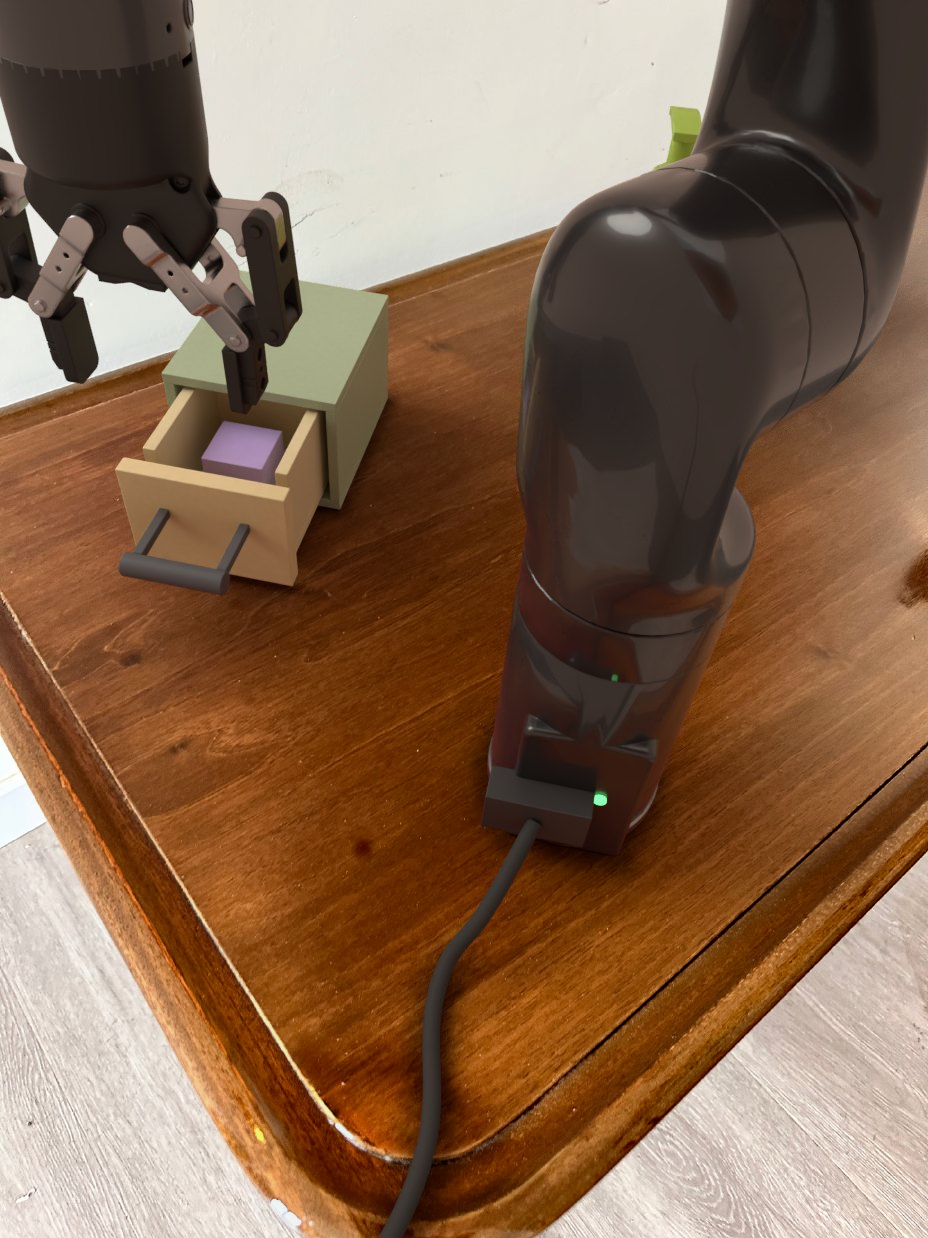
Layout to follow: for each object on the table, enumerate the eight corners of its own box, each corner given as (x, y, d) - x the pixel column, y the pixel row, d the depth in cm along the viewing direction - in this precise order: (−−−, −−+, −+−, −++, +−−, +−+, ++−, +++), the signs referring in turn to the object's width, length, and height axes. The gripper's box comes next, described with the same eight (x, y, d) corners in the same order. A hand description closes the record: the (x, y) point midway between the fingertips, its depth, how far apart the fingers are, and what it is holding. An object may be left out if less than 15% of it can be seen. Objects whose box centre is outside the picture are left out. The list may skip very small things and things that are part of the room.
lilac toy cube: (282, 430, 62) (261, 469, 59) (286, 477, 65) (267, 516, 62) (223, 420, 62) (200, 457, 59) (230, 467, 65) (209, 505, 62)
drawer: (264, 650, 56) (252, 565, 51) (101, 617, 57) (71, 530, 51) (347, 463, 68) (344, 378, 62) (210, 438, 68) (195, 352, 63)
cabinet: (340, 510, 66) (335, 404, 59) (183, 480, 67) (161, 373, 60) (388, 398, 74) (388, 294, 68) (248, 373, 75) (235, 269, 69)
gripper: (-150, 29, 33) (-8, 408, 46) (235, 87, 32) (276, 461, 44) (-34, -30, 38) (67, 326, 51) (304, 18, 37) (324, 372, 49)
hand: (164, 389), depth 47 cm, fingers open, 8 cm apart
